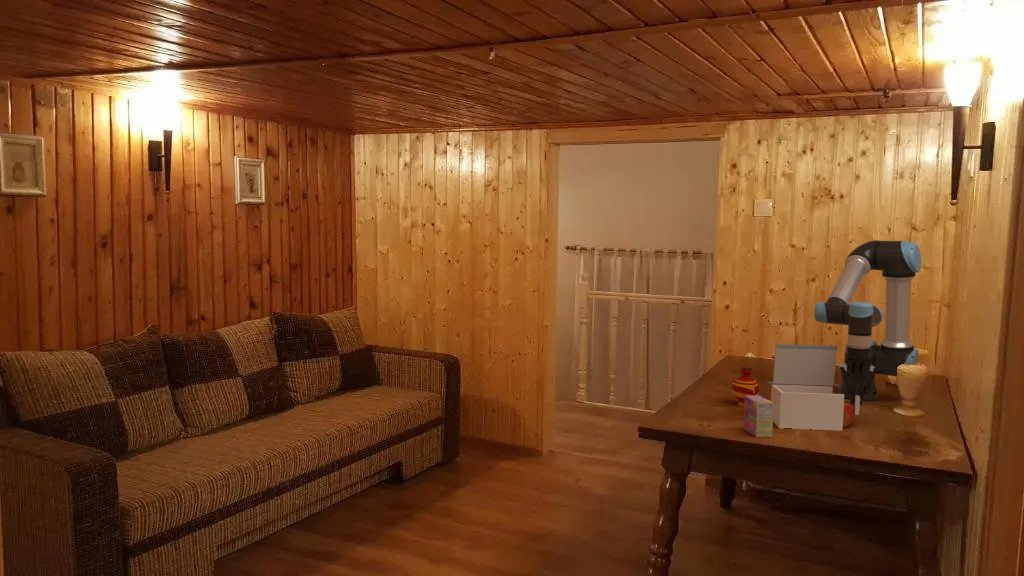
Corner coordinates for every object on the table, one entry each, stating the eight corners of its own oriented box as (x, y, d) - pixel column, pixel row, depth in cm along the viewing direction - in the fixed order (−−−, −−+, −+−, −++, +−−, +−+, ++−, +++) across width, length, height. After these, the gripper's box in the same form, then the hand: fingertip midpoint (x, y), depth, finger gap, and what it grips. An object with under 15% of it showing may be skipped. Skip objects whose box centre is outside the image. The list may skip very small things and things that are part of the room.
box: (743, 429, 261) (744, 395, 260) (759, 429, 261) (761, 395, 260) (755, 437, 251) (757, 402, 250) (772, 437, 251) (773, 402, 250)
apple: (852, 430, 261) (853, 401, 260) (826, 426, 265) (828, 398, 265) (855, 425, 268) (856, 397, 267) (830, 421, 272) (831, 394, 271)
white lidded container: (835, 420, 274) (837, 383, 273) (848, 431, 261) (850, 391, 259) (766, 417, 276) (768, 380, 275) (776, 428, 263) (777, 389, 262)
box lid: (833, 385, 272) (832, 384, 273) (837, 346, 269) (836, 346, 270) (773, 383, 274) (772, 382, 275) (776, 344, 271) (775, 344, 272)
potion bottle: (759, 403, 299) (760, 365, 297) (758, 409, 289) (760, 370, 287) (731, 401, 302) (732, 363, 301) (729, 406, 292) (731, 368, 291)
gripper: (874, 345, 267) (870, 411, 269) (836, 344, 268) (832, 410, 270) (882, 349, 260) (879, 417, 262) (843, 348, 261) (840, 415, 263)
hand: (855, 413), depth 266 cm, fingers closed
